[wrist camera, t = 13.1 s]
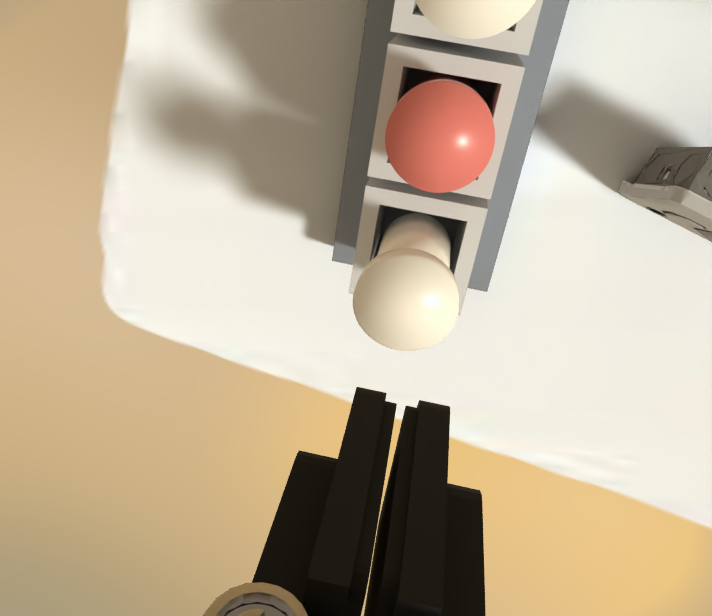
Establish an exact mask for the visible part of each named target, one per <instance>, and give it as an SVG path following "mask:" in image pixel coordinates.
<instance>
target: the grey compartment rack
mask: <svg viewBox="0 0 712 616" xmlns="http://www.w3.org/2000/svg"><path fill="white" fill-rule="evenodd" d="M568 3H569V0H536V1H535V3H534V4H533V6H532V7H531V8H530V10H529V11H528V12H527V13H526V14H525V15H524V16H523V17H522V18H521V19H520V20H519V21H518V22H517V23H515V24H514V25H513V26H511V27H510V28H508V29H507V30H505V31H503V32H501V33H499V34H496V35H493V36H490V37H486V38H481V39H465V38H459V37H455V36H452V35H449V34H447V33H445V32H443V31H441V30H440V29H438V28H437V27H435V26H434V25H433V24H432V23H431V22H430V21H429V20H428V19H427V18H426V17H425V16H424V15H423V13H422V12H421V10H420V9H419V7H418V5H417V3H416V2H415V0H368V6H367V13H366V20H365V27H364V35H363V42H362V49H361V56H360V63H359V71H358V78H357V85H356V92H355V99H354V106H353V114H352V121H351V128H350V135H349V142H348V150H347V157H346V164H345V171H344V178H343V186H342V193H341V200H340V207H339V214H338V222H337V229H336V236H335V243H334V250H333V257H332V261H336V262H341V263H346V264H351V265H353V269H352V276H351V282H350V288H349V293H351V294H354V290H355V287H356V284H357V281H358V279H359V276H360V274H361V272H362V270H363V269H364V267H365V266H366V265H367V264H368V263H369V262H370V261H371V260H372V259H373V258H375V257H376V256H377V254H378V251H379V248H380V245H381V242H382V238H383V235H384V233H385V231H386V229H387V227H388V226H389V225H390V224H391V223H392V222H393V221H394V220H396V219H397V218H399V217H401V216H403V215H407V214H412V213H419V214H425V215H428V216H431V217H433V218H435V219H436V220H438V221H439V222H440V223H441V224H442V225H443V226H444V227H445V229H446V230H447V232H448V235H449V237H450V242H451V251H450V268H449V269H450V270H451V271H452V273H453V275H454V277H455V279H456V281H457V285H458V289H459V311H458V315H459V316H460V314H461V310H462V306H463V302H464V298H465V295H466V291H467V288H471V289H476V290H481V291H486V292H487V290H488V287H489V283H490V280H491V276H492V272H493V269H494V265H495V262H496V258H497V255H498V251H499V248H500V244H501V241H502V237H503V234H504V230H505V226H506V223H507V219H508V216H509V212H510V209H511V205H512V202H513V198H514V195H515V191H516V188H517V184H518V180H519V177H520V173H521V170H522V166H523V163H524V159H525V156H526V152H527V149H528V145H529V142H530V138H531V134H532V131H533V127H534V124H535V120H536V117H537V113H538V110H539V106H540V103H541V99H542V96H543V92H544V88H545V85H546V81H547V78H548V74H549V71H550V67H551V64H552V60H553V57H554V53H555V49H556V46H557V42H558V39H559V35H560V32H561V28H562V25H563V21H564V18H565V14H566V11H567V7H568ZM438 72H439V73H444V74H450V75H455V76H461V77H465V78H466V79H468V80H469V81H470V82H471V83H472V84H473V86H474V87H475V89H476V91H477V93H478V94H479V95H480V96H481V97H482V98H483V99H484V101H485V102H486V103H487V105H488V107H489V109H490V112H491V114H492V118H493V122H494V128H495V144H494V150H493V153H492V156H491V158H490V161H489V163H488V164H487V166H486V168H485V169H484V170H483V172H482V173H481V174H480V175H479V176H478V177H477V178H476V179H475V180H474V181H472V182H471V183H470V184H468V185H466V186H464V187H463V188H460V189H458V190H455V191H451V192H445V193H433V192H427V191H423V190H420V189H417V188H415V187H413V186H411V185H410V184H408V183H407V182H405V181H404V180H403V179H402V178H401V177H400V176H399V175H398V174H397V173H396V171H395V170H394V168H393V167H392V165H391V163H390V161H389V158H388V155H387V152H386V146H385V133H386V127H387V123H388V120H389V118H390V115H391V113H392V111H393V110H394V108H395V106H396V104H397V103H398V101H399V100H400V99H401V98H402V97H403V96H404V94H406V93H407V92H408V91H409V90H410V89H412V88H414V87H415V86H417V85H418V84H419V83H420V82H421V81H422V80H424V79H425V78H426V77H428V76H430V75H432V74H435V73H438Z"/></svg>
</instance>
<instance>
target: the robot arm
mask: <svg viewBox="0 0 712 616" xmlns="http://www.w3.org/2000/svg"><path fill="white" fill-rule="evenodd" d="M385 398H386V393H383V392H379V391H374V390H369V389H365V388H360V387H357V388H356V392H355V396H354V399H353V403H352V407H351V411H350V415H349V419H348V422H347V426H346V430H345V434H344V437H343V441H342V446H341V449H340V453H339V457H338V459H335V458H330V457H326V456H321V455H316V454H312V453H308V452H303V451H299V452H298V453H297V456H296V458H295V461H294V464H293V467H292V469H291V473H290V475H289V478H288V481H287V484H286V487H285V490H284V492H283V496H282V498H281V501H280V504H279V507H278V510H277V512H276V515H275V518H274V521H273V524H272V527H271V530H270V532H269V535H268V538H267V541H266V544H265V547H264V550H263V553H262V555H261V558H260V561H259V564H258V567H257V570H256V573H255V575H254V578H253V581H252V583H245V584H242V585H239V586H237V587H233V588H230V589H229V590H228V591H226V592H225V593H223V594H222V595H220V596H219V597H217V598H216V600H214V602H213V603H212V604H211V605H210V607H209V608H208V609H207V610H206V612H205V613H204V615H203V616H361V612H362V608H363V603H364V599H365V594H366V589H367V583H368V578H369V573H370V566H371V560H372V554H373V547H374V542H375V535H376V529H377V523H378V516H379V511H380V504H381V498H382V492H383V486H384V480H385V473H386V467H387V460H388V455H389V448H390V442H391V435H392V430H393V423H394V417H395V411H396V405H397V404H396V403H391V402H386V401H385ZM449 424H450V407H449V406H444V405H440V404H435V403H430V402H426V401H421V400H419V403H418V406H417V408H415V407H410V406H406V408H405V411H404V416H403V420H402V424H401V428H400V433H399V437H398V441H397V446H396V450H395V454H394V458H393V463H392V467H391V471H390V476H389V480H388V484H387V488H386V493H385V497H384V501H383V506H382V510H381V515H380V519H379V525H378V530H377V536H376V543H375V549H374V555H373V562H372V568H371V574H370V581H369V587H368V593H367V600H366V606H365V612H364V616H485V585H484V553H483V552H484V551H483V518H482V517H483V514H482V495H481V492H480V490H475V489H470V488H466V487H461V486H457V485H453V484H448V483H447V477H448V450H449Z"/></svg>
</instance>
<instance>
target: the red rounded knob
mask: <svg viewBox="0 0 712 616" xmlns="http://www.w3.org/2000/svg"><path fill="white" fill-rule="evenodd" d="M494 144H495V128H494V122H493V118H492V114H491V112H490V109H489V107H488V105H487V103H486V102H485V101H484V99H483V98H482V97H481V96H480V95H479V94H478V93H477V91H476V89H475V87H474V86H473V84H472V83H471V82H470V81H469V80H468V79H466V78H465V77H461V76H455V75H450V74H444V73H439V72H438V73H435V74H432V75H430V76H428V77H426V78H425V79H424V80H422V81H421V82H420V83H419V84H418V85H417V86H415V87H414V88H412V89H410V90H409V91H408V92H407V93H406V94H404V96H403V97H402V98H401V99H400V100H399V101H398V103H397V104H396V106H395V108H394V110H393V111H392V113H391V115H390V118H389V120H388V123H387V127H386V133H385V146H386V152H387V155H388V158H389V161H390V163H391V165H392V167H393V168H394V170H395V171H396V173H397V174H398V175H399V176H400V177H401V178H402V179H403V180H404V181H405V182H407V183H408V184H410V185H411V186H413V187H415V188H417V189H420V190H423V191H427V192H433V193H445V192H451V191H455V190H458V189H460V188H463V187H464V186H466V185H468V184H470V183H471V182H472V181H474V180H475V179H476V178H477V177H478V176H479V175H480V174H481V173H482V172H483V170H484V169H485V168H486V166H487V164H488V163H489V161H490V158H491V156H492V153H493V150H494Z"/></svg>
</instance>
